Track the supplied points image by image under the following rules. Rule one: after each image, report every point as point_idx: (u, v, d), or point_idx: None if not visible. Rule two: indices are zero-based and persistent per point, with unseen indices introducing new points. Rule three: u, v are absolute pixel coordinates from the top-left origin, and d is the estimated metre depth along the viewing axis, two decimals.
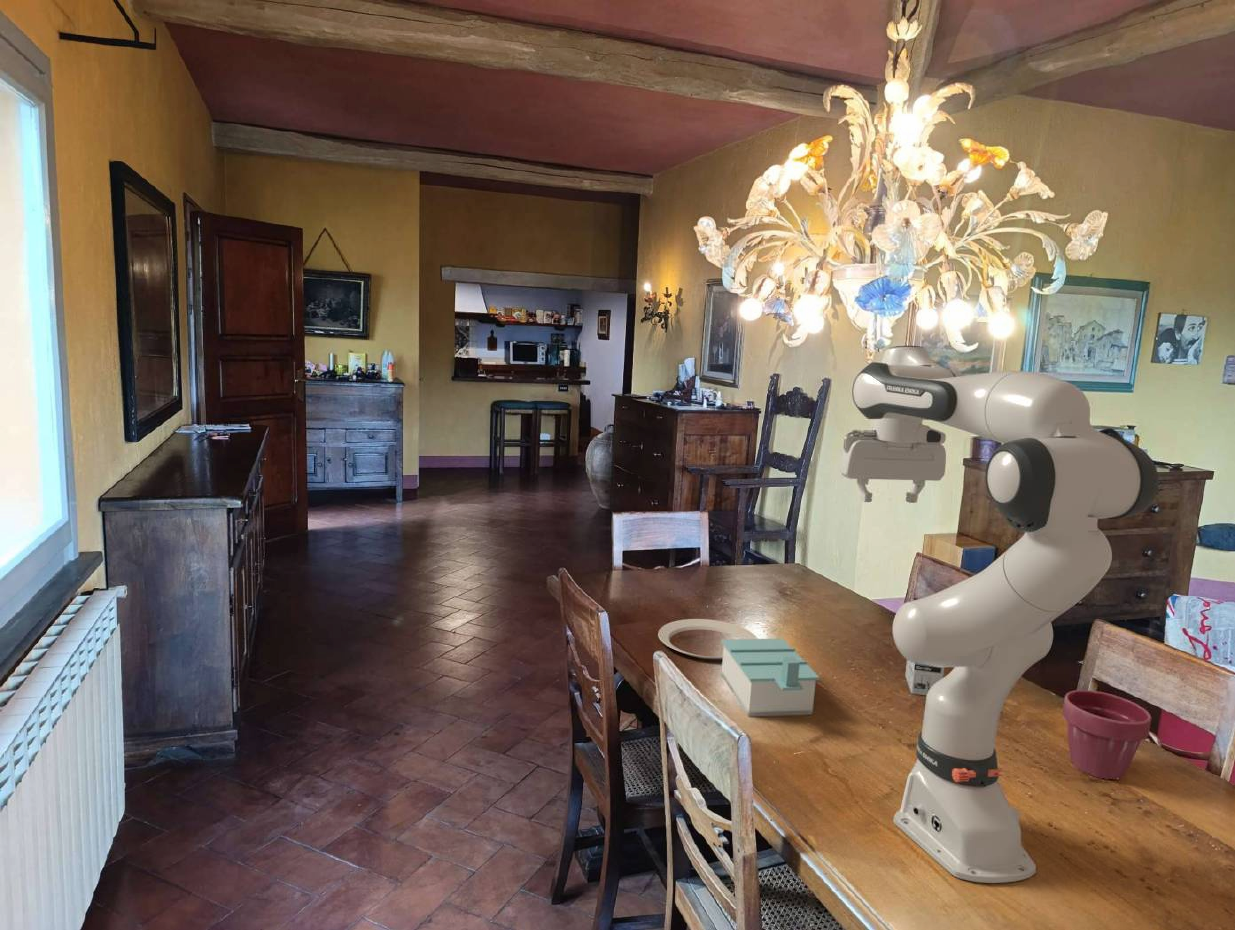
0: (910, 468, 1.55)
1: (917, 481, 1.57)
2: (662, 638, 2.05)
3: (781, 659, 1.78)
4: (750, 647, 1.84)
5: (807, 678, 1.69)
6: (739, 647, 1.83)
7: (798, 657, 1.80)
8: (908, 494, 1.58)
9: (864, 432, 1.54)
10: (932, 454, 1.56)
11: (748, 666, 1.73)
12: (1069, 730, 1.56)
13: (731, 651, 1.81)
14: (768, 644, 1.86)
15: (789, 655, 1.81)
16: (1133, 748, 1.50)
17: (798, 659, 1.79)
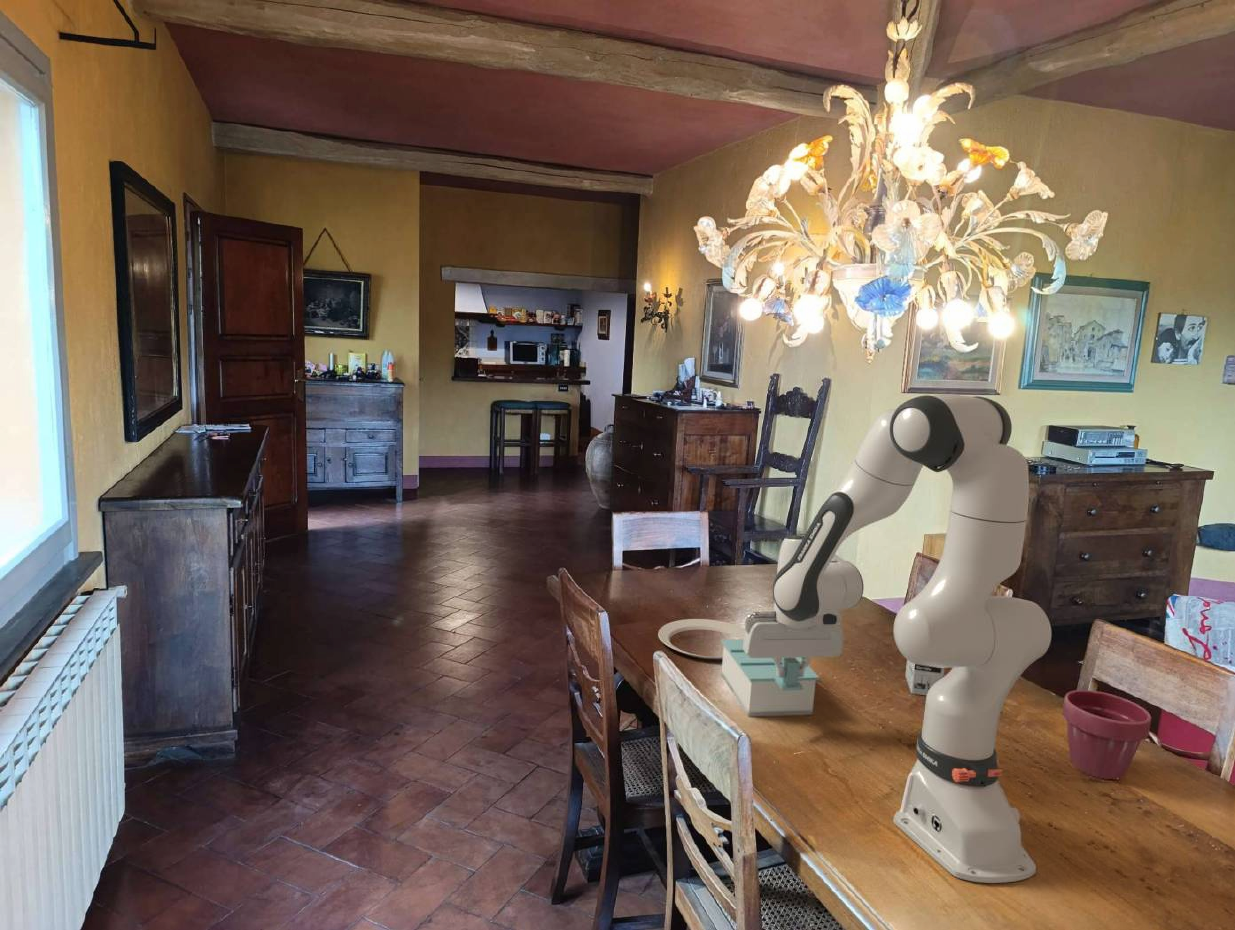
0: (809, 646, 1.64)
1: (803, 657, 1.65)
2: (662, 638, 2.05)
3: None
4: None
5: (807, 678, 1.69)
6: (739, 647, 1.83)
7: (798, 657, 1.80)
8: None
9: (764, 614, 1.62)
10: (830, 633, 1.64)
11: (748, 666, 1.73)
12: (1069, 730, 1.56)
13: (731, 651, 1.81)
14: None
15: None
16: (1133, 748, 1.50)
17: (798, 659, 1.79)
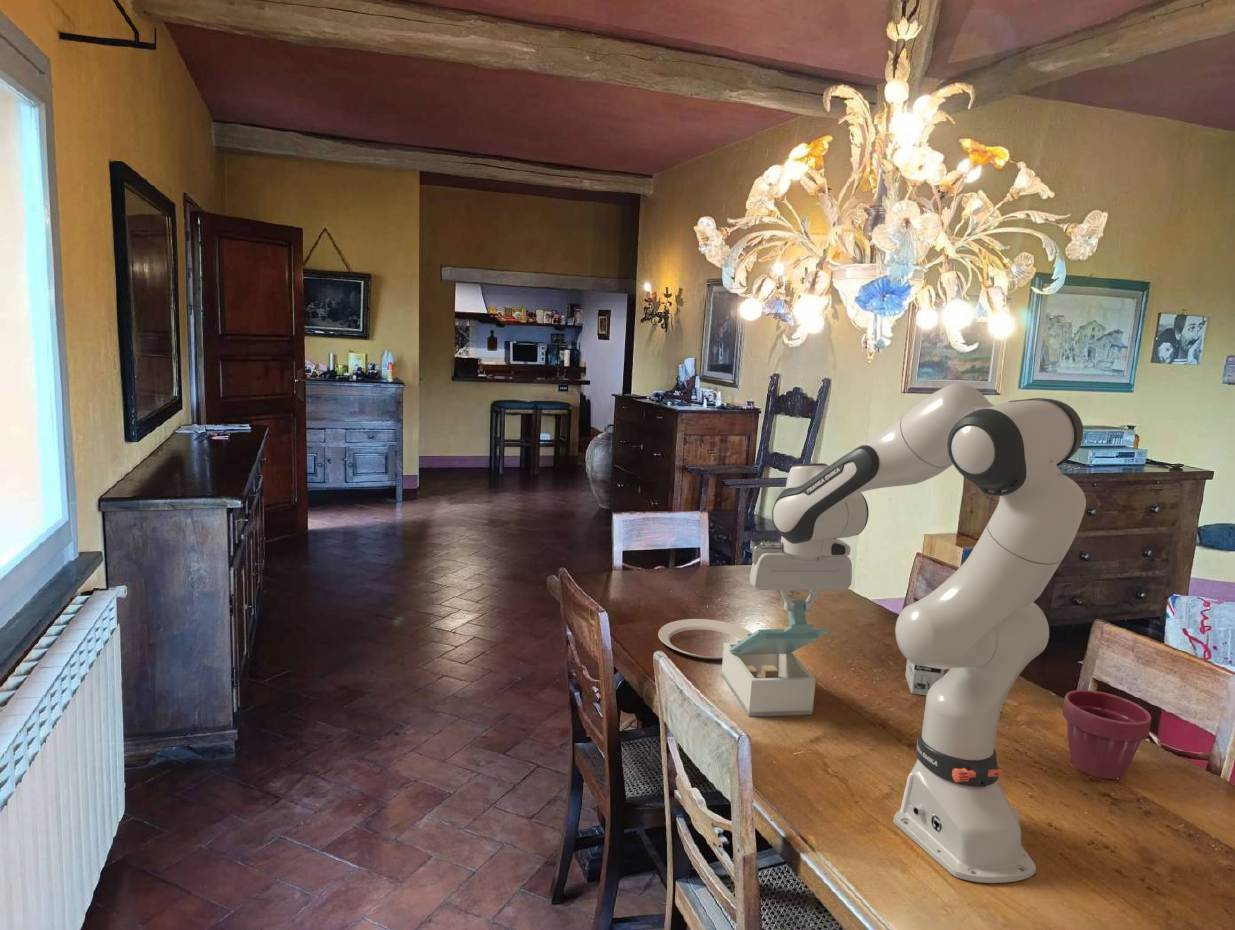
0: (817, 579, 1.60)
1: (811, 590, 1.62)
2: (662, 638, 2.05)
3: None
4: None
5: (817, 629, 1.65)
6: None
7: None
8: None
9: (771, 545, 1.59)
10: (838, 565, 1.61)
11: None
12: (1069, 730, 1.56)
13: (739, 642, 1.76)
14: None
15: None
16: (1133, 748, 1.50)
17: None
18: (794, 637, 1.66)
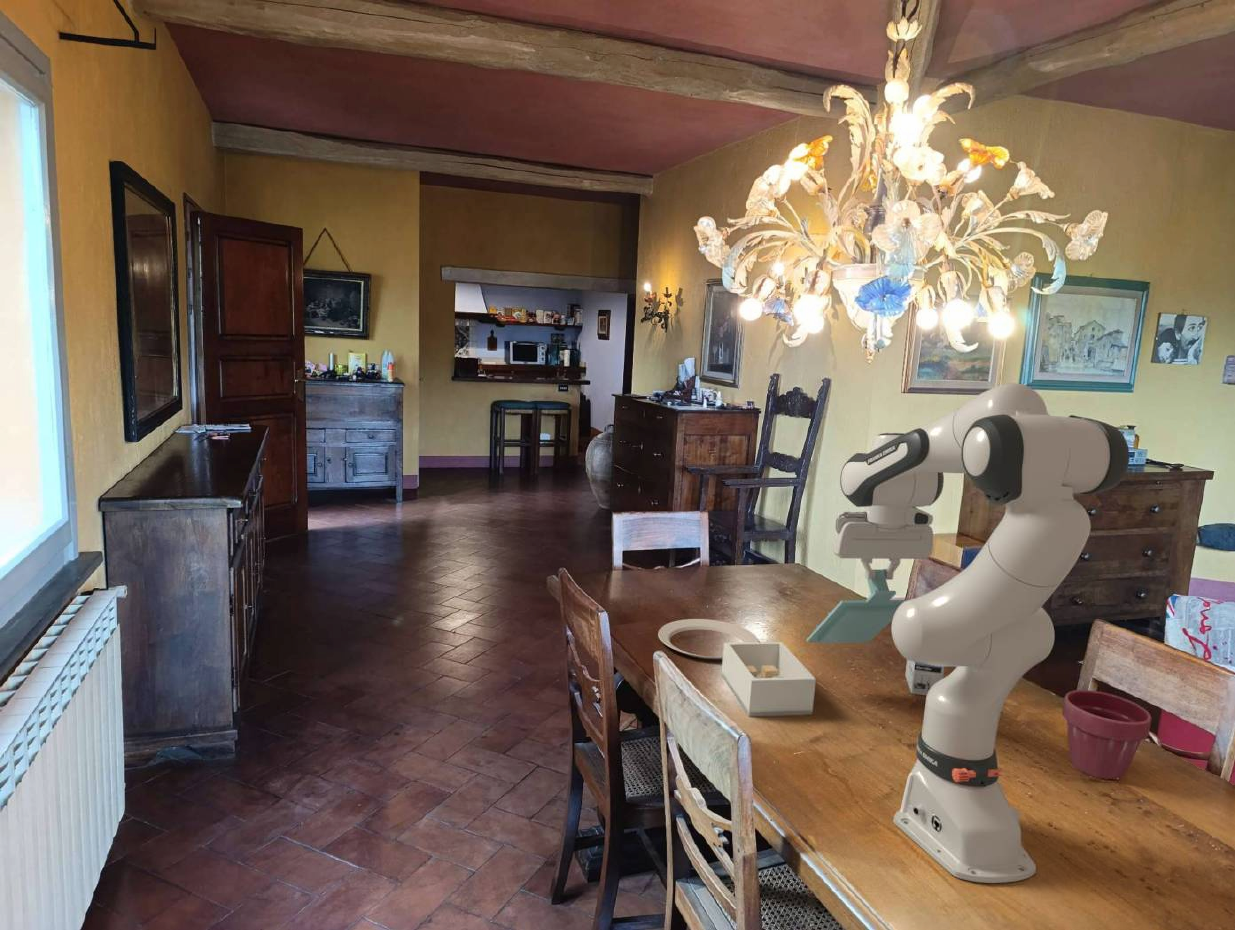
0: (899, 547, 1.63)
1: (893, 559, 1.64)
2: (662, 638, 2.05)
3: None
4: None
5: (898, 600, 1.67)
6: None
7: None
8: (884, 571, 1.65)
9: (855, 514, 1.61)
10: (920, 534, 1.63)
11: None
12: (1069, 730, 1.56)
13: (818, 626, 1.76)
14: None
15: None
16: (1133, 748, 1.50)
17: None
18: (876, 609, 1.67)
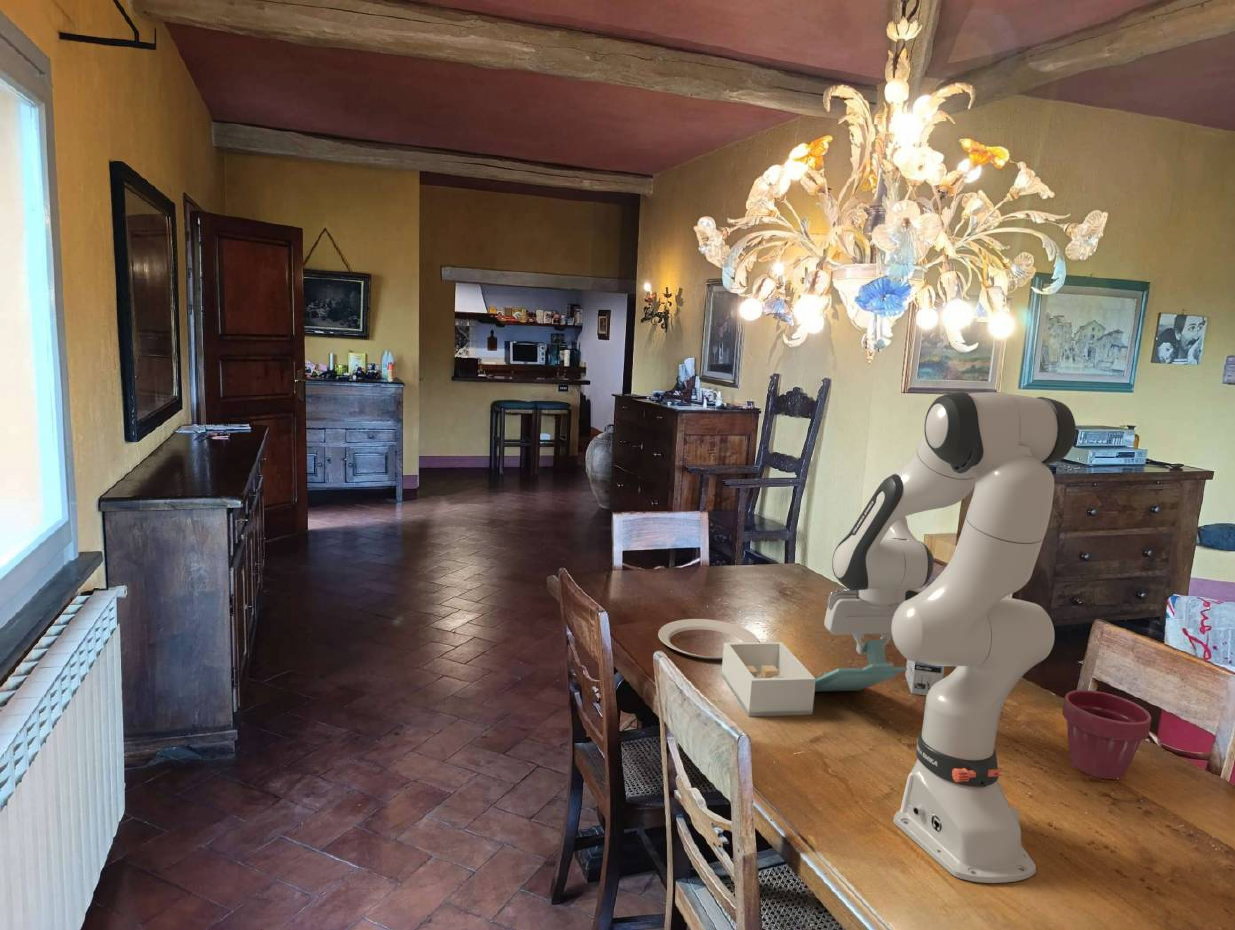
0: (890, 623, 1.66)
1: (884, 634, 1.67)
2: (662, 638, 2.05)
3: None
4: None
5: (895, 668, 1.68)
6: None
7: None
8: None
9: (847, 591, 1.64)
10: None
11: None
12: (1069, 730, 1.56)
13: None
14: None
15: None
16: (1133, 748, 1.50)
17: None
18: (872, 675, 1.68)
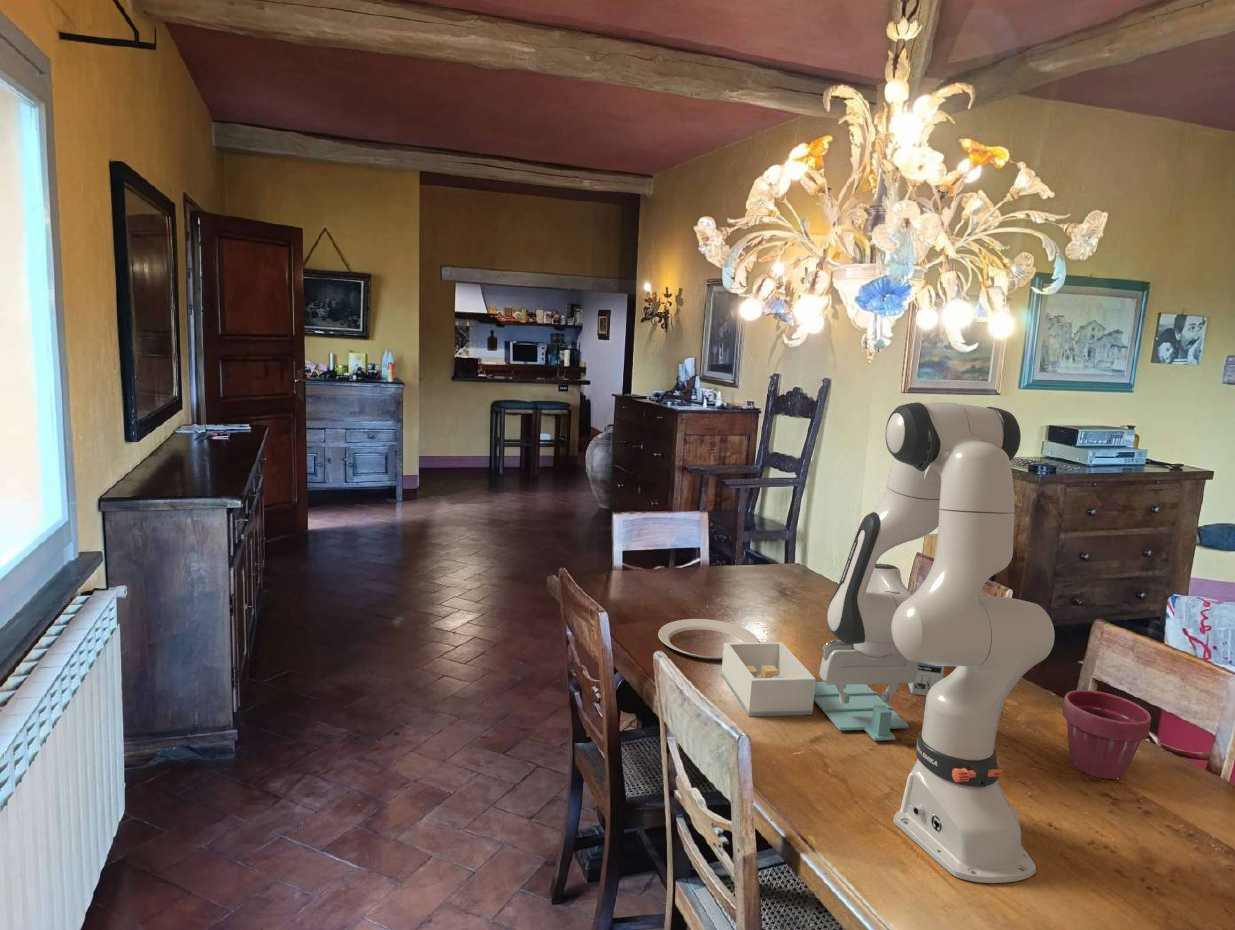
0: (885, 673, 1.67)
1: (891, 683, 1.69)
2: (662, 638, 2.05)
3: (866, 704, 1.75)
4: (831, 691, 1.81)
5: (897, 726, 1.66)
6: (821, 691, 1.80)
7: (882, 702, 1.77)
8: (883, 694, 1.70)
9: (841, 642, 1.66)
10: (905, 660, 1.68)
11: (834, 713, 1.70)
12: (1069, 730, 1.56)
13: None
14: (849, 687, 1.83)
15: (873, 700, 1.77)
16: (1133, 748, 1.50)
17: (883, 704, 1.75)
18: None
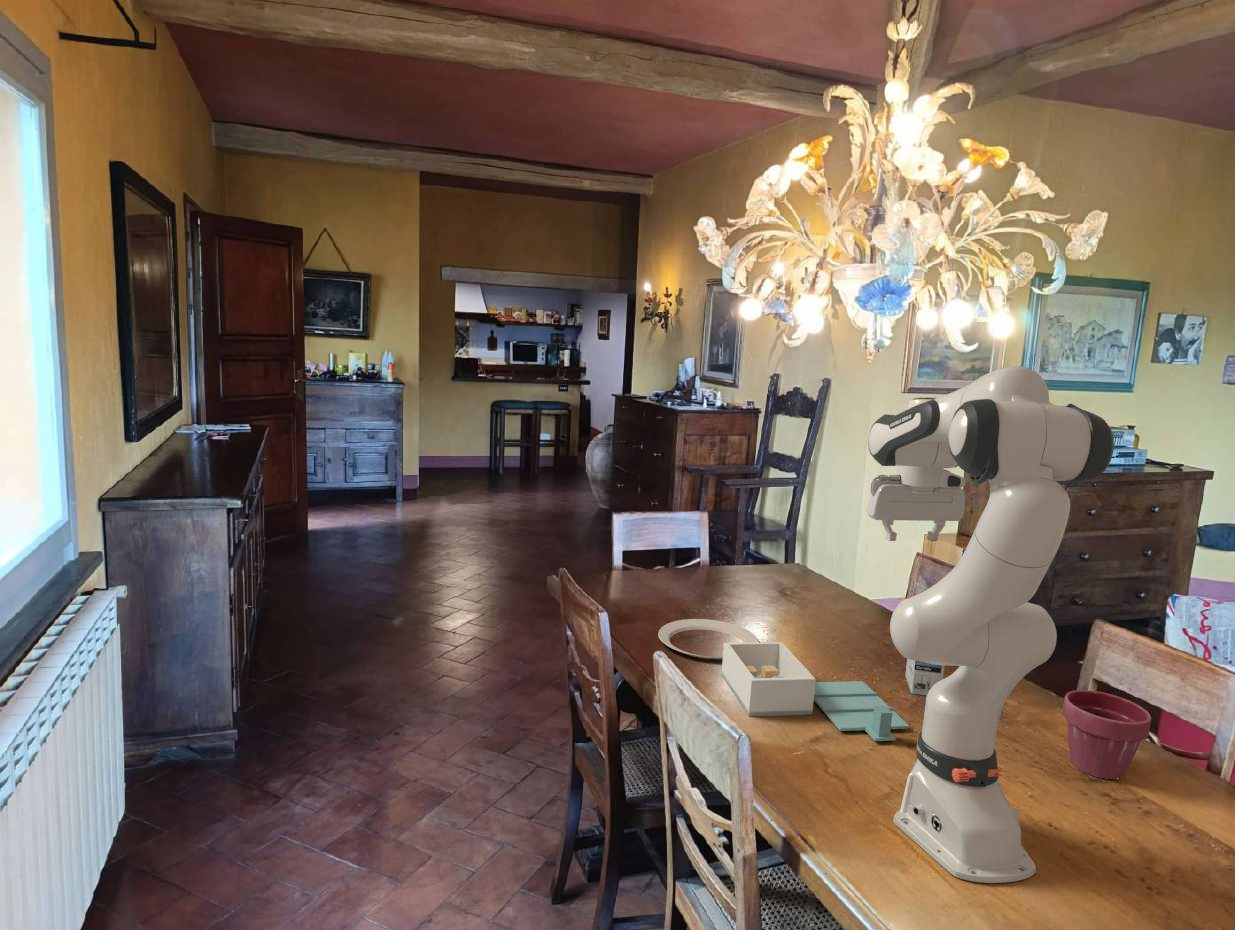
0: (932, 510, 1.67)
1: (938, 521, 1.69)
2: (662, 638, 2.05)
3: (866, 705, 1.75)
4: (832, 691, 1.80)
5: (897, 727, 1.66)
6: (821, 691, 1.80)
7: (883, 702, 1.76)
8: (929, 533, 1.70)
9: (889, 477, 1.66)
10: (952, 497, 1.68)
11: (835, 713, 1.70)
12: (1069, 730, 1.56)
13: (814, 696, 1.77)
14: (849, 687, 1.83)
15: (873, 700, 1.77)
16: (1133, 748, 1.50)
17: (883, 705, 1.75)
18: None
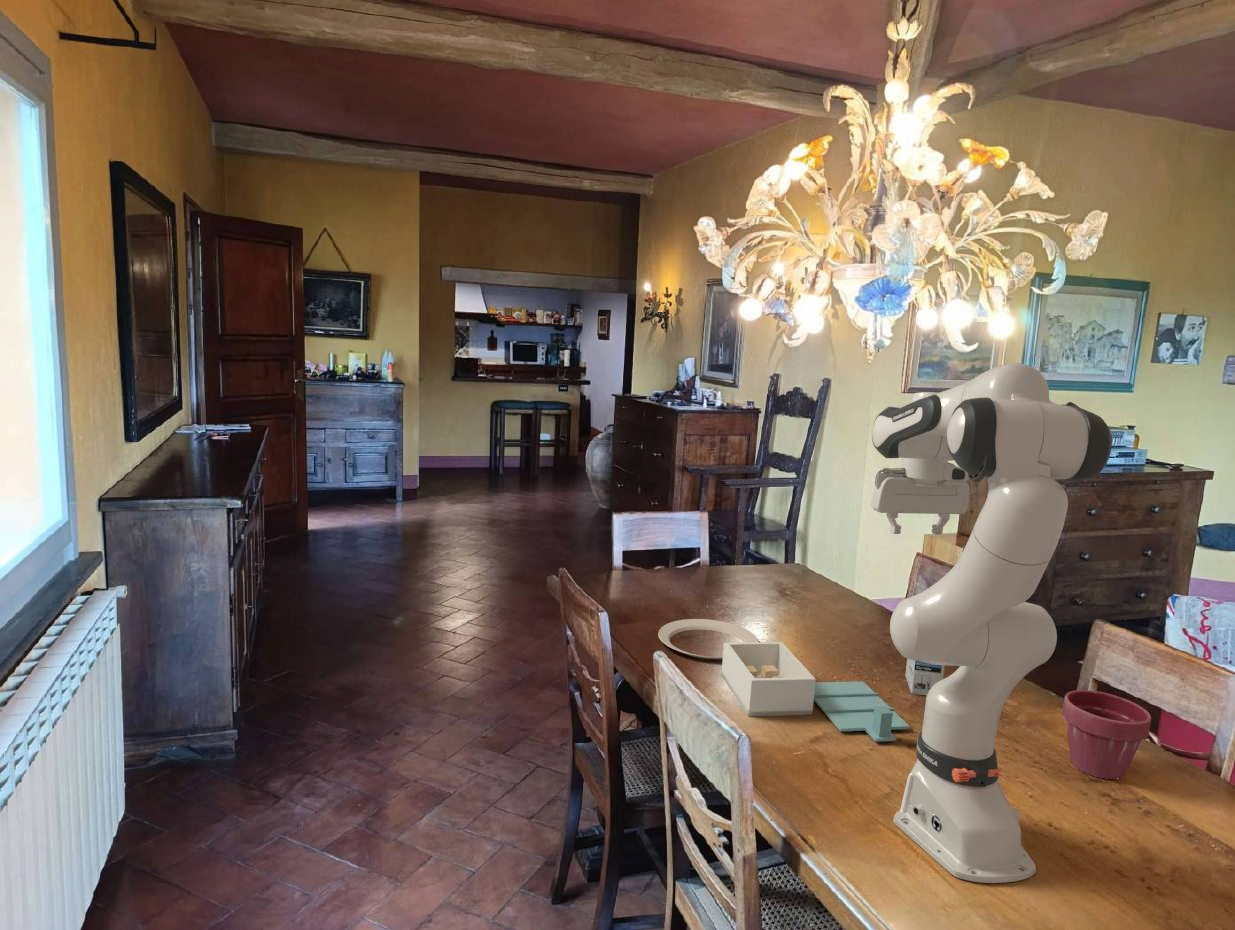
0: (936, 503, 1.68)
1: (942, 514, 1.70)
2: (662, 638, 2.05)
3: (866, 705, 1.75)
4: (832, 691, 1.80)
5: (897, 727, 1.66)
6: (822, 692, 1.80)
7: (883, 703, 1.76)
8: (934, 526, 1.71)
9: (894, 470, 1.66)
10: (957, 490, 1.68)
11: (835, 714, 1.70)
12: (1069, 730, 1.56)
13: (814, 696, 1.77)
14: (849, 688, 1.83)
15: (873, 700, 1.77)
16: (1133, 748, 1.50)
17: (884, 705, 1.75)
18: None
